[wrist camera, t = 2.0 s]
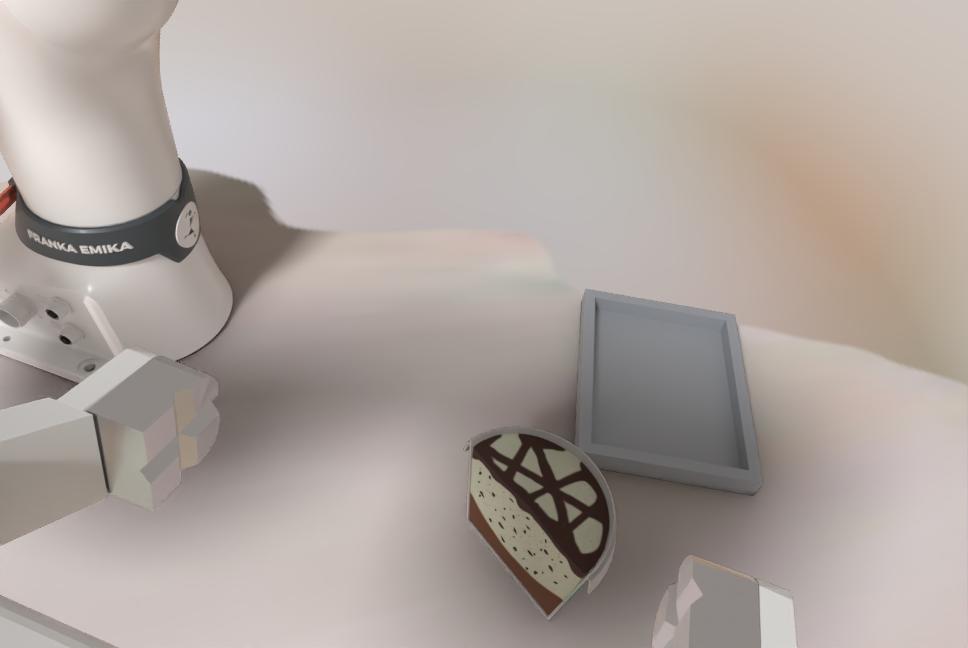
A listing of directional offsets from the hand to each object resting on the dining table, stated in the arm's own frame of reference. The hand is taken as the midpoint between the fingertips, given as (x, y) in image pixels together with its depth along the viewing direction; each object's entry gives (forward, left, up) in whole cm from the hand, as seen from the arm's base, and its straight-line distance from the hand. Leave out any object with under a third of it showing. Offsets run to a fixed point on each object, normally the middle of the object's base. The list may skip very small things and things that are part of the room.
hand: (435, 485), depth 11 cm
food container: (+7, +18, -38) cm, 43 cm away
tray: (+17, +35, -38) cm, 54 cm away
